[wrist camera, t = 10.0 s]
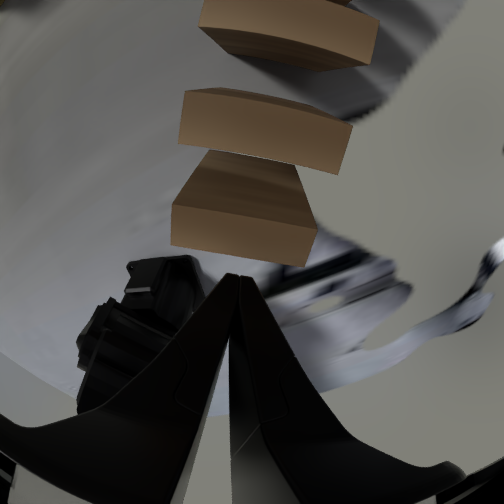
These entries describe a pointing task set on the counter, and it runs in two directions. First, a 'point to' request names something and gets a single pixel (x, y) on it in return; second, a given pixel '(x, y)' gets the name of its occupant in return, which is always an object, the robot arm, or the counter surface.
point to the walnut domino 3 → (244, 210)
